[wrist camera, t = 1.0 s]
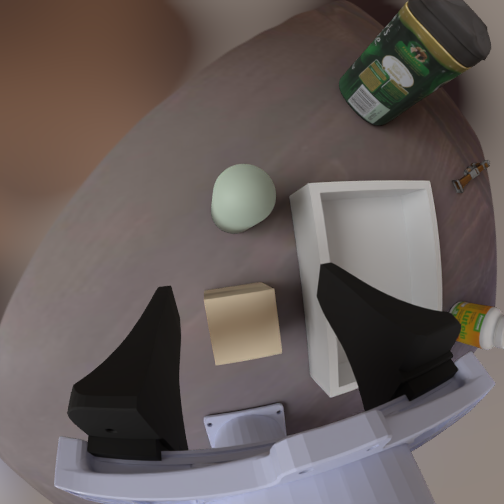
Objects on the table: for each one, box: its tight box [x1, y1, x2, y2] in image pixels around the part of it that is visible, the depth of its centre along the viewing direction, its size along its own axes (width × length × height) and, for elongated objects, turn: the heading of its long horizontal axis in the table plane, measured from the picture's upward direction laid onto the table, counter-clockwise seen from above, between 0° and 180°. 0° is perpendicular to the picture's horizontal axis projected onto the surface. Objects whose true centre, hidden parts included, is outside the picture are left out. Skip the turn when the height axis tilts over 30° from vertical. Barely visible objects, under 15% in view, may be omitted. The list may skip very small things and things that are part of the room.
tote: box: [289, 180, 442, 398], centre depth 24 cm, size 18×14×5 cm
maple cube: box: [204, 282, 282, 365], centre depth 22 cm, size 5×5×5 cm
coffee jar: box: [339, 0, 491, 125], centre depth 18 cm, size 10×8×19 cm
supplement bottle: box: [449, 302, 504, 350], centre depth 24 cm, size 5×5×10 cm
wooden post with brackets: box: [452, 160, 490, 193], centre depth 28 cm, size 2×8×4 cm, turn 126°
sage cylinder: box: [211, 164, 276, 234], centre depth 20 cm, size 4×4×7 cm
